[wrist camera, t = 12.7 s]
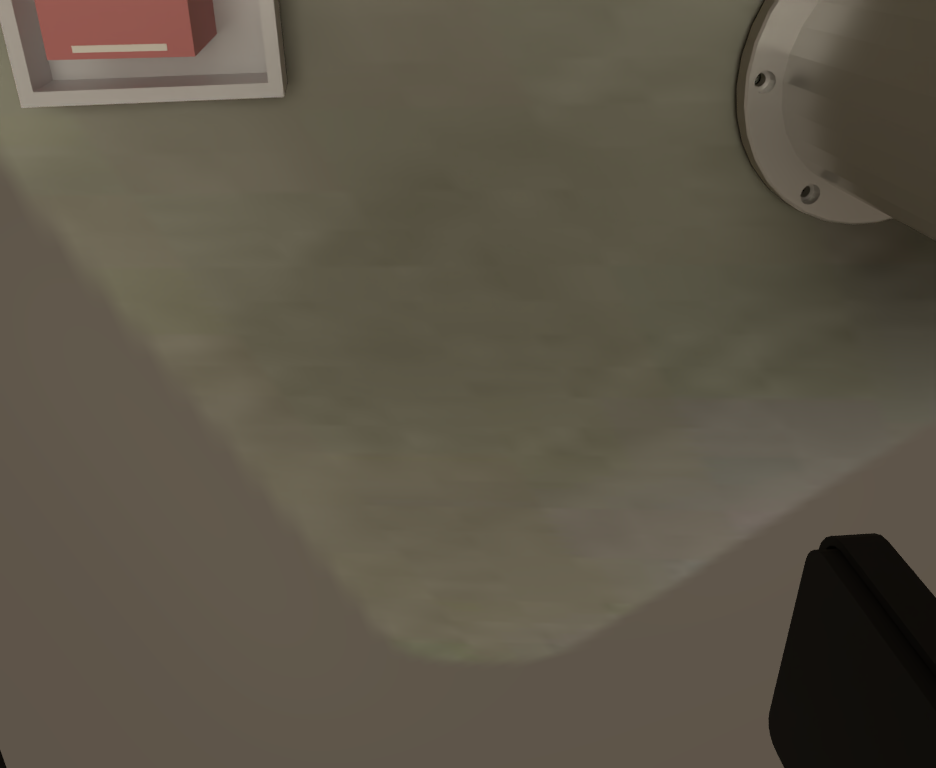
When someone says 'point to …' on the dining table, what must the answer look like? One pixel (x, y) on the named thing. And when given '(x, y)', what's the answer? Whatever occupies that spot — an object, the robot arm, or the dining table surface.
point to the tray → (153, 62)
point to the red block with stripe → (125, 28)
